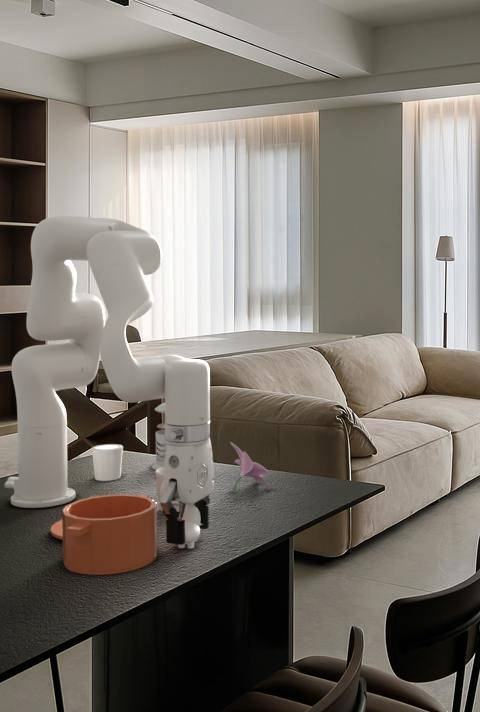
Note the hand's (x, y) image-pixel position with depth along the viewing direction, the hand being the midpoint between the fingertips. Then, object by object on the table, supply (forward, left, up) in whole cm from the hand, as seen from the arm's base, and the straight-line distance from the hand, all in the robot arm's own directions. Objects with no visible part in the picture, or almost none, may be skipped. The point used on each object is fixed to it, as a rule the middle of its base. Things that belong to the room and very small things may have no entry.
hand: (188, 534), depth 146 cm
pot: (-9, -10, -2) cm, 13 cm away
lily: (-5, +36, -2) cm, 36 cm away
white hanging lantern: (-32, +51, -2) cm, 60 cm away
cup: (-12, +16, -2) cm, 20 cm away
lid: (-19, +2, -1) cm, 20 cm away
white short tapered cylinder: (-40, +36, -2) cm, 54 cm away
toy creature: (0, 0, -2) cm, 2 cm away
